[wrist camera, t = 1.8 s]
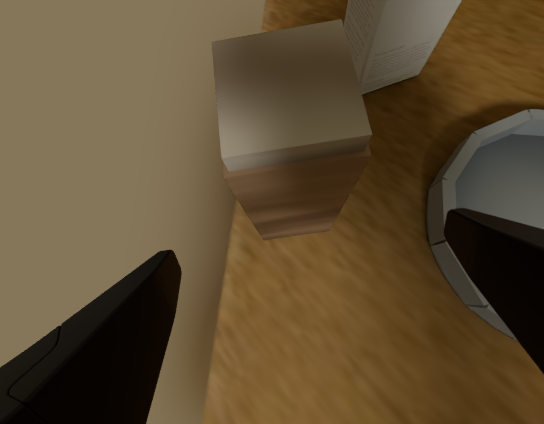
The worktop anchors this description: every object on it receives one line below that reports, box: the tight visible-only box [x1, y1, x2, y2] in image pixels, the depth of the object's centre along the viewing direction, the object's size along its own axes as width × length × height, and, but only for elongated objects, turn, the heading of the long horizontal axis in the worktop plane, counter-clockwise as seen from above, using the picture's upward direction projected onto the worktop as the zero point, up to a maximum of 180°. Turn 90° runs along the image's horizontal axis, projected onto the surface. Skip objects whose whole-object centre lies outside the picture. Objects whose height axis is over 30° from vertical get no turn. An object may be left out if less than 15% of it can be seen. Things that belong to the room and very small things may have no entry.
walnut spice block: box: [212, 19, 372, 240], centre depth 15 cm, size 5×5×13 cm
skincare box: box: [344, 0, 462, 94], centre depth 18 cm, size 6×4×12 cm
